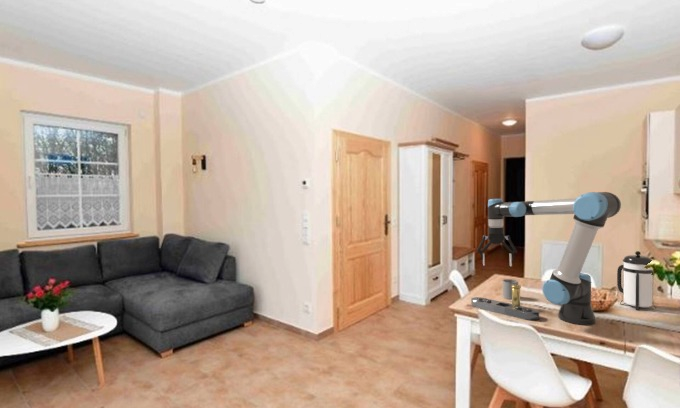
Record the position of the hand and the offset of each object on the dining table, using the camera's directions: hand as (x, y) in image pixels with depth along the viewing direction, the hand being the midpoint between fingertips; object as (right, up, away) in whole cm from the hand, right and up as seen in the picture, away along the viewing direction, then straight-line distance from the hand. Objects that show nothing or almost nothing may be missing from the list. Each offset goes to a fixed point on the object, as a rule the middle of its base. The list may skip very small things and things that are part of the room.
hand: (497, 265), depth 199 cm
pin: (+9, -23, -2) cm, 24 cm away
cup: (+15, -22, +16) cm, 31 cm away
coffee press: (+72, -21, -4) cm, 76 cm away
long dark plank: (0, -23, -8) cm, 24 cm away
